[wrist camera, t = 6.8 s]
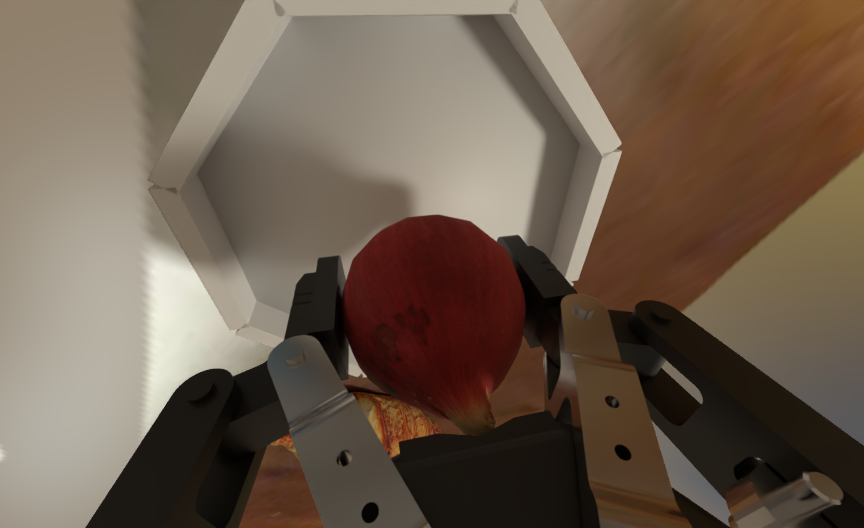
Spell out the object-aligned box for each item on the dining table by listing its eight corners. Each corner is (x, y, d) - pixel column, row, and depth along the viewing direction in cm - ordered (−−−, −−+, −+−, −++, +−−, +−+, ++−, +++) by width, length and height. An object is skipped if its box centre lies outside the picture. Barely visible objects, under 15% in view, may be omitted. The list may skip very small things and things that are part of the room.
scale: (369, -107, 14) (388, -265, 6) (561, 153, 22) (663, 216, 15) (193, 183, 19) (91, 283, 12) (404, 300, 28) (423, 400, 20)
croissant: (258, 389, 36) (234, 472, 33) (260, 377, 28) (229, 486, 25) (425, 404, 44) (422, 472, 41) (463, 398, 36) (463, 483, 33)
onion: (362, 306, 15) (368, 511, 9) (326, 192, 11) (291, 398, 5) (481, 282, 15) (569, 458, 9) (482, 166, 12) (625, 323, 6)
